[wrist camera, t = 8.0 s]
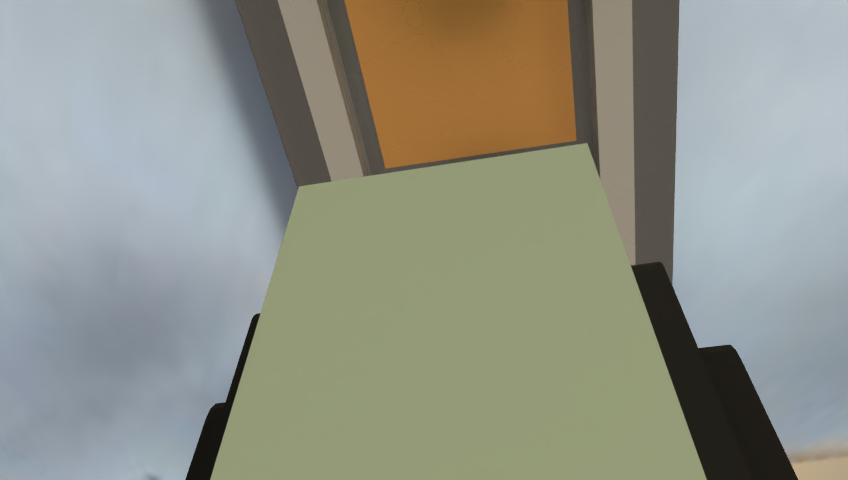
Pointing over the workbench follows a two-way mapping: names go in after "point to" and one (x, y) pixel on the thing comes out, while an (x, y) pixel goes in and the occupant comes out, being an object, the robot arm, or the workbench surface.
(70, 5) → the workbench surface
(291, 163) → the dark grey tray
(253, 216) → the workbench surface
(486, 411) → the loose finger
